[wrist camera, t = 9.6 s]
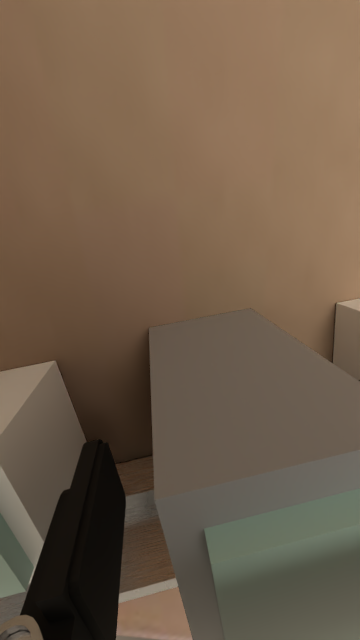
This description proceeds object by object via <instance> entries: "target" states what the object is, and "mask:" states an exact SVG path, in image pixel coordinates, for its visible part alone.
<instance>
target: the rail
mask: <svg viewBox="0 0 360 640" xmlns="http://www.w3.org/2000/svg"><path fill="white" fill-rule="evenodd" d="M115 465H116V468H117V471H118V474H119V477H120V480H121V483H122V486H123V488H124V491H125V496H126V509H125V523H124V536H123V549H122V563H121V576H120V589H119V603H121V602H125V601H129V600H132V599H136V598H139V597H143V596H146V595H150V594H154V593H157V592H161V591H164V590H168V589H171V588H175V587H178V584H177V580H176V576H175V573H174V569H173V565H172V562H171V558H170V555H169V551H168V547H167V544H166V540H165V536H164V533H163V529H162V525H161V522H160V518H159V515H158V511H157V507H156V504H155V500H154V470H153V456H149V457H144V458H140V459H136V460H132V461H128V462H123V463H119V464H115ZM29 586H30V584H28V587H27V590H26V591H25V592H21V593H18V594H14V595H10V596H6V597H3V598H0V626H1V625H2V624H3V623H5V622H6V621H8V620H10V619H12V618H14V617H15V616H20V613H21V610H22V607H23V604H24V601H25V598H26V595H27V592H28V589H29Z"/></svg>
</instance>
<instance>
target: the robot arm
mask: <svg viewBox="0 0 360 640" xmlns="http://www.w3.org/2000/svg"><path fill="white" fill-rule="evenodd" d="M358 381H360V380H358ZM125 509H126V496H125V491H124V488H123V486H122V483H121V480H120V477H119V474H118V471H117V468H116V465H115V462H114V460H113V457H112V454H111V451H110V448H109V445H108V443H107V442H105V443H103V442H102V440H101V439H99V440H95V441H91V442H86V443H84V444H83V447H82V450H81V453H80V456H79V460H78V463H77V466H76V470H75V473H74V476H73V479H72V483H71V486H70V489H66V490H64V491H63V492H62V493H61V495H60V497H59V500H58V502H57V505H56V508H55V511H54V514H53V517H52V520H51V523H50V526H49V529H48V532H47V535H46V538H45V541H44V544H43V547H42V550H41V553H40V556H39V559H38V562H37V565H36V568H35V571H34V574H33V577H32V580H31V583H30V586H29V589H28V592H27V595H26V598H25V601H24V604H23V607H22V610H21V613H20V616H15V617H14V618H12V619H10V620H8V621H6V622H5V623H3V624H2V625H1V626H0V640H116V629H117V616H118V603H119V589H120V576H121V563H122V549H123V536H124V523H125Z"/></svg>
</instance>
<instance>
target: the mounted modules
mask: <svg viewBox="0 0 360 640" xmlns="http://www.w3.org/2000/svg"><path fill="white" fill-rule="evenodd" d="M333 364H334V365H336V366H337V367H339V368H340V369H342V370H343V371H345V372H346V373H348V374H349V375H351V376H352V377H354V378H355V379H357V380H360V298H359V299H354V300H349V301H344V302H339V303H336V317H335V333H334V350H333ZM86 442H87V441H86V439H85V436H84V433H83V431H82V428H81V426H80V423H79V420H78V418H77V415H76V413H75V410H74V407H73V405H72V402H71V399H70V397H69V394H68V392H67V389H66V386H65V384H64V381H63V379H62V376H61V373H60V371H59V368H58V366H57V363H56V360H55V361H50V362H45V363H40V364H35V365H30V366H25V367H21V368H16V369H11V370H6V371H1V372H0V598H3V597H6V596H10V595H14V594H18V593H21V592H25V591H26V590H27V587H28V584H30V583H31V580H32V577H33V574H34V571H35V568H36V565H37V562H38V559H39V556H40V553H41V550H42V547H43V544H44V541H45V538H46V535H47V532H48V529H49V526H50V523H51V520H52V517H53V514H54V511H55V508H56V505H57V502H58V500H59V497H60V495H61V493H62V492H63V491H64V490H66V489H70V486H71V483H72V479H73V476H74V473H75V470H76V466H77V463H78V460H79V456H80V453H81V450H82V447H83V444H84V443H86Z"/></svg>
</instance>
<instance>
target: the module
mask: <svg viewBox="0 0 360 640" xmlns="http://www.w3.org/2000/svg"><path fill="white" fill-rule="evenodd" d="M149 349H150V379H151V409H152V440H153V470H154V500H155V504H156V507H157V511H158V515H159V518H160V522H161V525H162V529H163V533H164V536H165V540H166V544H167V547H168V551H169V555H170V558H171V562H172V565H173V569H174V573H175V576H176V580H177V584H178V587H179V591H180V594H181V598H182V602H183V605H184V609H185V613H186V616H187V620H188V623H189V627H190V631H191V634H192V638H193V640H360V381H358V380H357V379H355V378H354V377H352V376H351V375H349V374H348V373H346V372H345V371H343V370H342V369H340V368H339V367H337V366H336V365H334V364H333V363H331V362H330V361H328V360H327V359H325V358H324V357H322V356H321V355H319V354H318V353H316V352H315V351H313V350H312V349H311V348H309V347H308V346H306V345H305V344H303V343H302V342H300V341H299V340H297V339H296V338H294V337H293V336H291V335H290V334H288V333H287V332H285V331H284V330H282V329H281V328H279V327H278V326H276V325H275V324H273V323H272V322H270V321H269V320H267V319H266V318H264V317H263V316H261V315H260V314H258V313H257V312H255V311H254V310H253V309H251V308H249V309H244V310H239V311H233V312H228V313H223V314H218V315H212V316H207V317H202V318H197V319H191V320H186V321H181V322H176V323H171V324H165V325H160V326H155V327H150V328H149Z"/></svg>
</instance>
